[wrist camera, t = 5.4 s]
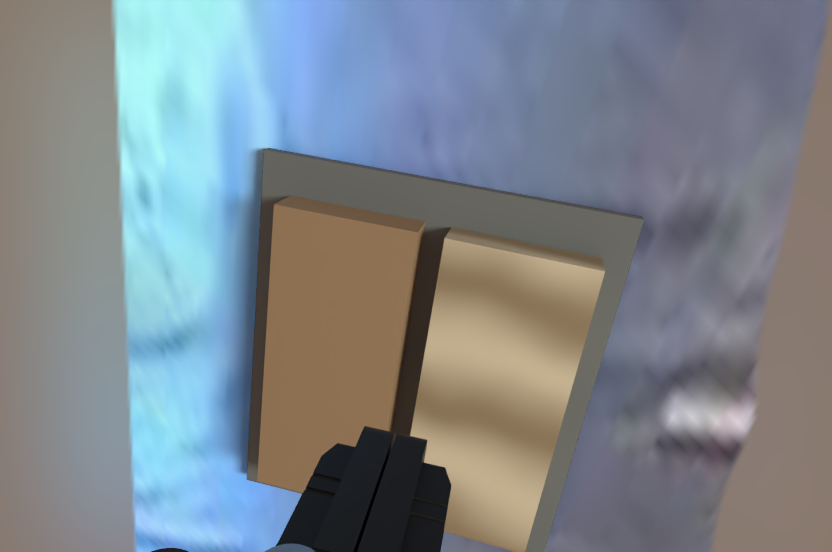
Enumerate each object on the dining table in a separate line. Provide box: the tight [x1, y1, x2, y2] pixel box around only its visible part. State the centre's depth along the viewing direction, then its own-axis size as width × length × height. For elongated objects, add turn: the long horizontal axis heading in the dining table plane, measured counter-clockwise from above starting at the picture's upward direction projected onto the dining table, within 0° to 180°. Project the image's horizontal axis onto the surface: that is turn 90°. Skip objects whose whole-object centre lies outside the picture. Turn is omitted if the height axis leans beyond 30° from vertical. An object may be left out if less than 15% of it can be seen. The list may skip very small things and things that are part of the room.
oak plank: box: [410, 227, 605, 552], centre depth 29 cm, size 16×7×2 cm, turn 171°
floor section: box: [247, 148, 644, 552], centre depth 30 cm, size 20×18×3 cm
